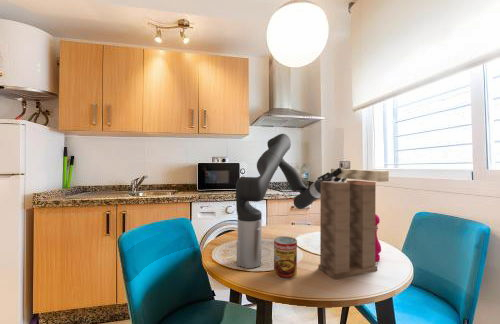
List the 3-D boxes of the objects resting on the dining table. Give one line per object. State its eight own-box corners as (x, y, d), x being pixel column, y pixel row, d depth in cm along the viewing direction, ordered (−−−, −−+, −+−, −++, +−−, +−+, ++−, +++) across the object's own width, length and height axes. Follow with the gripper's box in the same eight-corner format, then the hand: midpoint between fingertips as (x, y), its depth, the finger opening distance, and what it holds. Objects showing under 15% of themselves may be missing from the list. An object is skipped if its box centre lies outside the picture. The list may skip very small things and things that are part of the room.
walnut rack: (318, 268, 91) (318, 181, 90) (358, 260, 98) (358, 180, 97) (335, 279, 82) (335, 183, 82) (377, 270, 89) (377, 181, 89)
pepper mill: (383, 262, 96) (384, 211, 96) (363, 261, 97) (364, 210, 97) (378, 255, 103) (378, 207, 103) (359, 254, 104) (359, 207, 104)
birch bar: (330, 176, 104) (330, 168, 104) (338, 176, 106) (338, 168, 106) (379, 181, 82) (379, 171, 82) (388, 181, 83) (388, 171, 83)
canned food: (273, 278, 83) (273, 242, 83) (274, 268, 91) (274, 235, 91) (297, 280, 82) (297, 244, 82) (296, 269, 90) (296, 236, 89)
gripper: (305, 180, 112) (327, 161, 98) (330, 179, 118) (355, 161, 104) (310, 195, 109) (334, 178, 95) (336, 194, 114) (362, 177, 100)
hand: (344, 169), depth 99 cm, fingers closed on birch bar, 3 cm apart
